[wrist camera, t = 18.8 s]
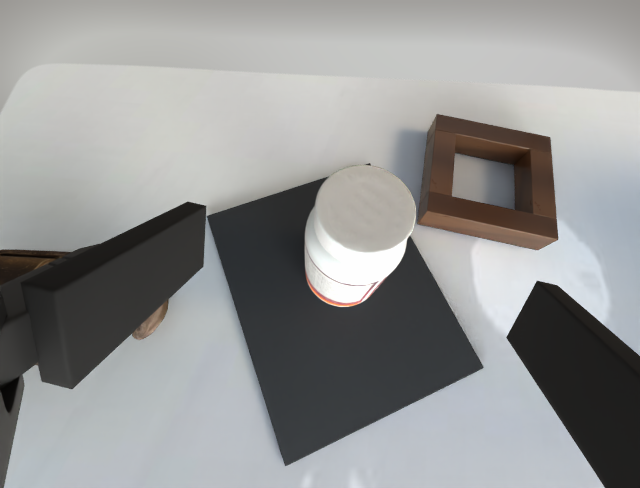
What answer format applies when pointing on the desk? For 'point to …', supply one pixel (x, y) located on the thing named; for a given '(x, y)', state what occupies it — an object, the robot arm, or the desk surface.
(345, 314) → the desk mat
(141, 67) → the desk surface
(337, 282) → the pill bottle
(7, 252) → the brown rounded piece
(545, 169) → the holder
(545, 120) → the desk surface
